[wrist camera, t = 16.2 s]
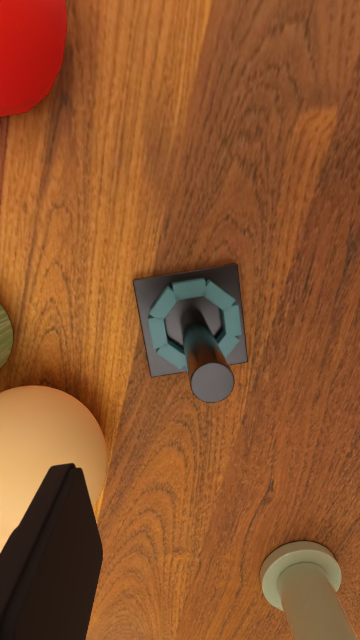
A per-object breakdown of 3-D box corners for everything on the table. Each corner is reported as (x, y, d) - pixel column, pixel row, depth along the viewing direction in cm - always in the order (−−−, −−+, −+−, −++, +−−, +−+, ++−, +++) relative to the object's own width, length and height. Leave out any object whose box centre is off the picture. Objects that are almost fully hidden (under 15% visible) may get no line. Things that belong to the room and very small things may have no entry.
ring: (232, 273, 24) (235, 274, 23) (241, 357, 26) (245, 362, 25) (143, 287, 24) (141, 289, 23) (158, 370, 26) (157, 376, 25)
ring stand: (335, 534, 32) (409, 663, 22) (338, 595, 34) (407, 738, 24) (255, 547, 32) (295, 682, 22) (262, 607, 34) (302, 755, 24)
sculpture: (-55, 430, 27) (-191, 547, 17) (46, 342, 26) (-35, 410, 15) (44, 512, 30) (-23, 660, 19) (141, 436, 28) (126, 550, 18)
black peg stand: (234, 262, 25) (294, 280, 13) (245, 358, 27) (305, 446, 15) (133, 278, 25) (105, 310, 13) (151, 373, 27) (140, 472, 15)
